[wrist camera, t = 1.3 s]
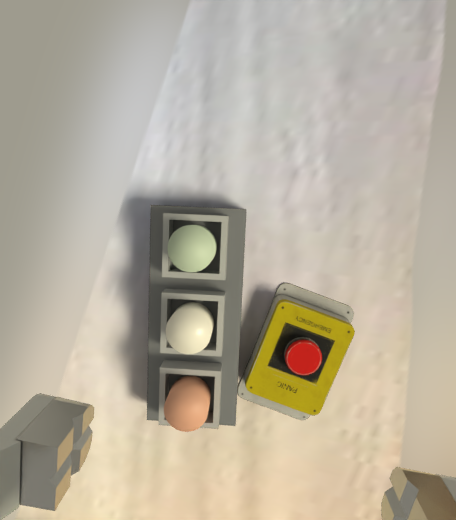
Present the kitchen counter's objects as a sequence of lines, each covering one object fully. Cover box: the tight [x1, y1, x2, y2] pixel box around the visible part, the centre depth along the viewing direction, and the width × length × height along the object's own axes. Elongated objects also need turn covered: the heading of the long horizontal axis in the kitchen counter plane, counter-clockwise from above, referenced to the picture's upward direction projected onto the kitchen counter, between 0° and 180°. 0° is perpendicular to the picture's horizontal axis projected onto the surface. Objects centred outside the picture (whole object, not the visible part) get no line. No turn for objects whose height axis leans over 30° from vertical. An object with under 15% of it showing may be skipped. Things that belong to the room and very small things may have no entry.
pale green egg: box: [168, 225, 217, 272], centre depth 33 cm, size 4×4×3 cm
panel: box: [147, 205, 246, 429], centre depth 37 cm, size 24×10×5 cm, turn 177°
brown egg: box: [164, 376, 211, 432], centre depth 35 cm, size 4×4×3 cm
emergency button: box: [238, 283, 355, 420], centre depth 38 cm, size 9×4×15 cm
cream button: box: [166, 302, 214, 354], centre depth 34 cm, size 4×4×3 cm
